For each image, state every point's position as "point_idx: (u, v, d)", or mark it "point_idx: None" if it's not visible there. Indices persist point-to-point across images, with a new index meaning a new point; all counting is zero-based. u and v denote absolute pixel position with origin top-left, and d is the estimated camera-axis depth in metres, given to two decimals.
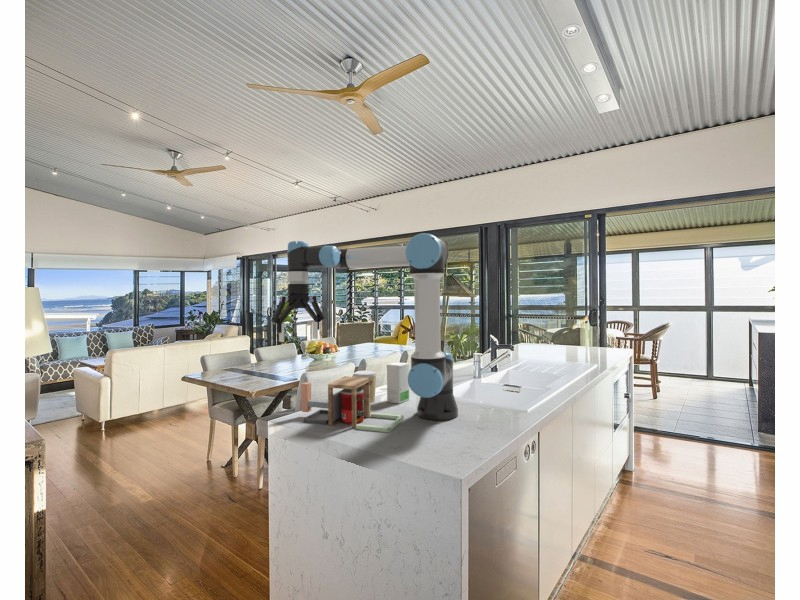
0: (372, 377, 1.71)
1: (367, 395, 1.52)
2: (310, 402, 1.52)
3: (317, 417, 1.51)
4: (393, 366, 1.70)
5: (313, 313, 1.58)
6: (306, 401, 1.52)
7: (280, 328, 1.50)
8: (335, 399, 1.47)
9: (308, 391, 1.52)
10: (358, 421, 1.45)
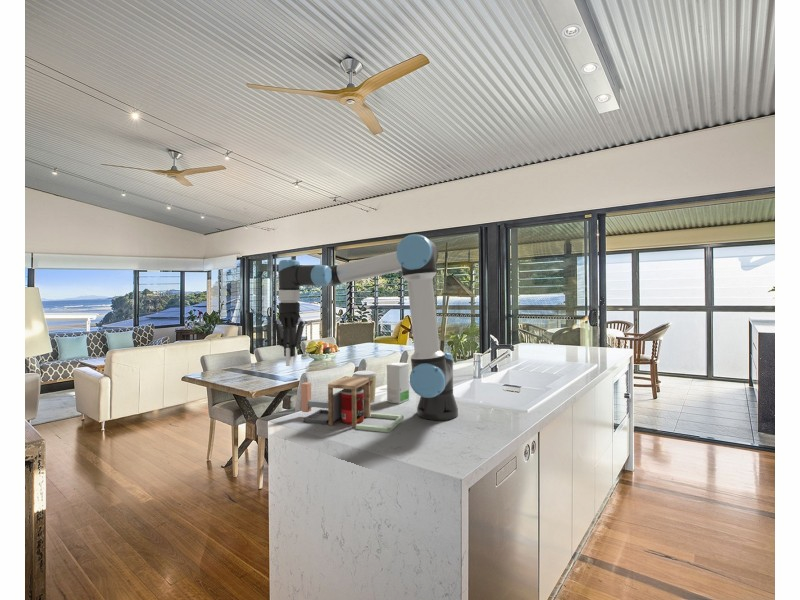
0: (372, 377, 1.71)
1: (367, 395, 1.52)
2: (310, 402, 1.52)
3: (317, 417, 1.51)
4: (393, 366, 1.70)
5: (290, 337, 1.53)
6: (306, 401, 1.52)
7: (285, 352, 1.55)
8: (335, 399, 1.47)
9: (308, 391, 1.52)
10: (358, 421, 1.45)
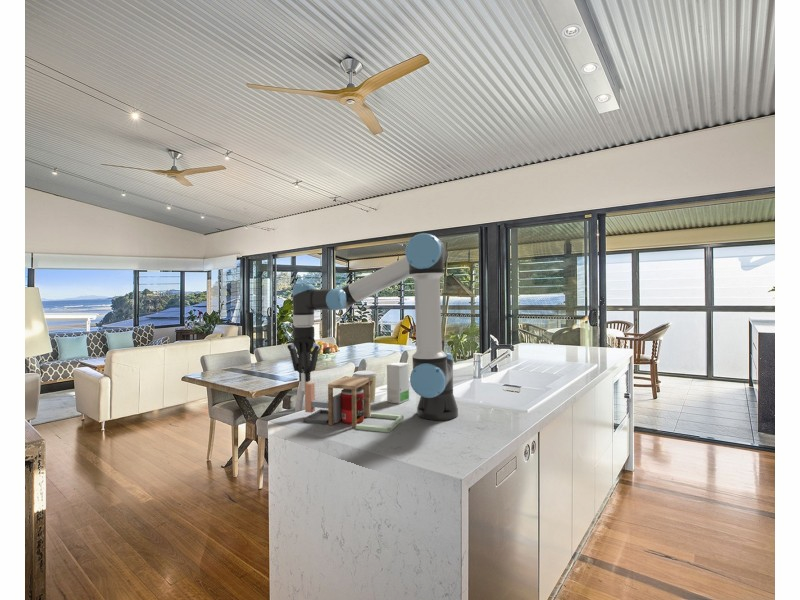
0: (372, 377, 1.71)
1: (367, 395, 1.52)
2: (314, 402, 1.51)
3: (317, 417, 1.51)
4: (393, 366, 1.70)
5: (305, 362, 1.52)
6: (310, 401, 1.51)
7: (301, 377, 1.53)
8: (339, 399, 1.47)
9: (312, 391, 1.52)
10: (358, 421, 1.45)
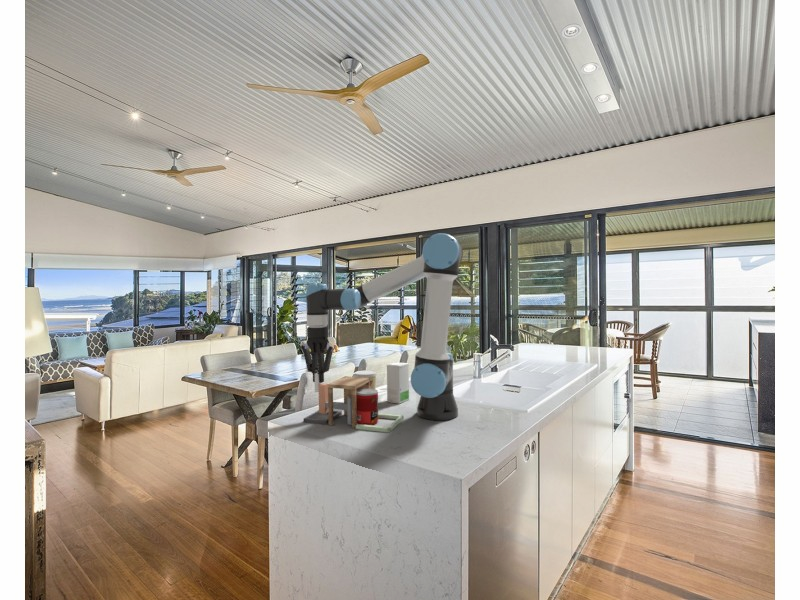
0: (372, 377, 1.71)
1: None
2: (327, 403, 1.50)
3: (317, 417, 1.51)
4: (393, 366, 1.70)
5: (319, 362, 1.50)
6: (323, 402, 1.50)
7: (314, 378, 1.51)
8: None
9: (325, 392, 1.50)
10: (373, 422, 1.43)
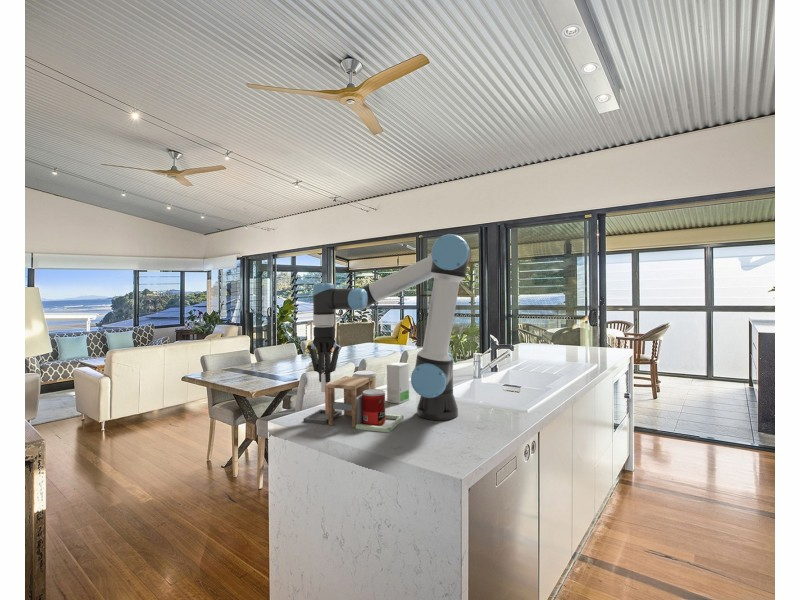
0: (372, 377, 1.71)
1: None
2: (334, 404, 1.49)
3: (317, 417, 1.51)
4: (393, 366, 1.70)
5: (326, 362, 1.49)
6: None
7: (321, 377, 1.50)
8: (360, 401, 1.44)
9: None
10: (380, 423, 1.42)
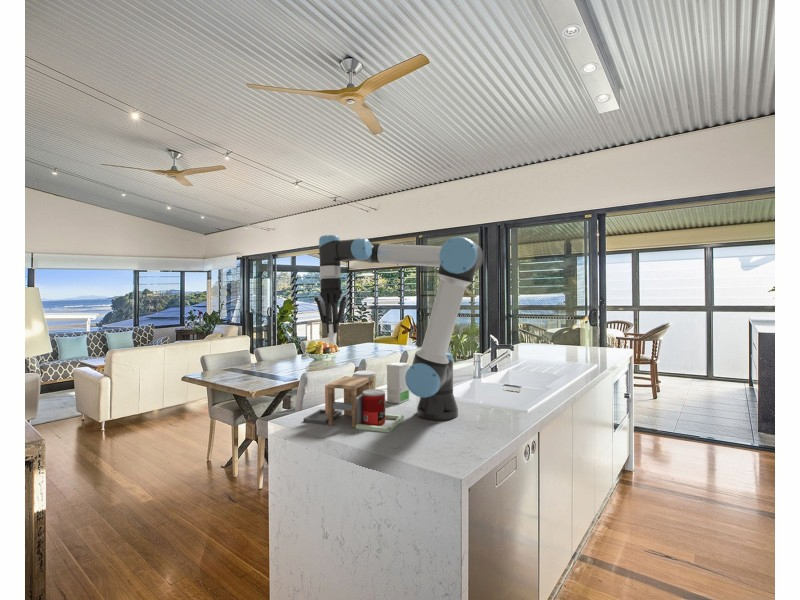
0: (372, 377, 1.71)
1: None
2: (334, 404, 1.49)
3: (317, 417, 1.51)
4: (393, 366, 1.70)
5: (333, 313, 1.52)
6: None
7: (328, 328, 1.54)
8: (360, 401, 1.44)
9: None
10: (380, 423, 1.42)
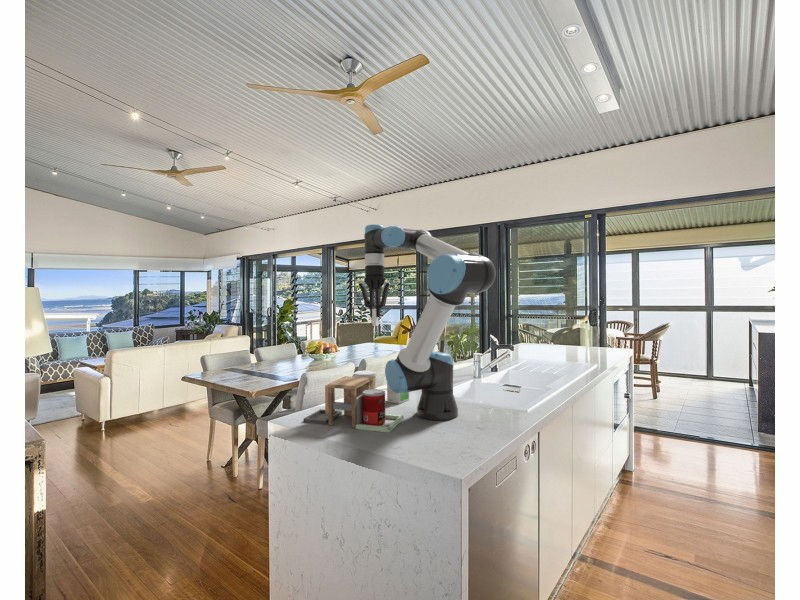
0: (372, 377, 1.71)
1: None
2: (334, 404, 1.49)
3: (317, 417, 1.51)
4: None
5: (377, 298, 1.62)
6: None
7: (371, 313, 1.63)
8: (360, 401, 1.44)
9: None
10: (380, 423, 1.42)
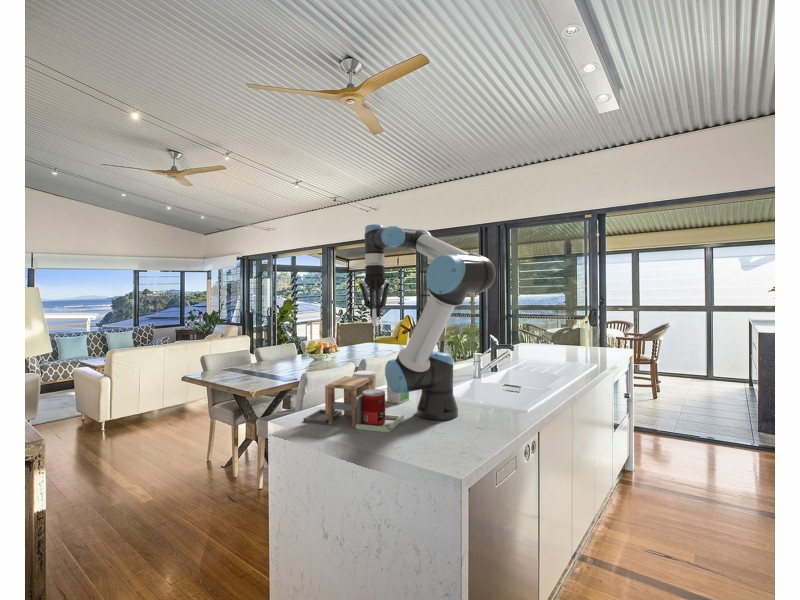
0: (372, 377, 1.71)
1: None
2: (334, 404, 1.49)
3: (317, 417, 1.51)
4: None
5: (377, 298, 1.62)
6: None
7: (372, 313, 1.63)
8: (360, 401, 1.44)
9: None
10: (380, 423, 1.42)
